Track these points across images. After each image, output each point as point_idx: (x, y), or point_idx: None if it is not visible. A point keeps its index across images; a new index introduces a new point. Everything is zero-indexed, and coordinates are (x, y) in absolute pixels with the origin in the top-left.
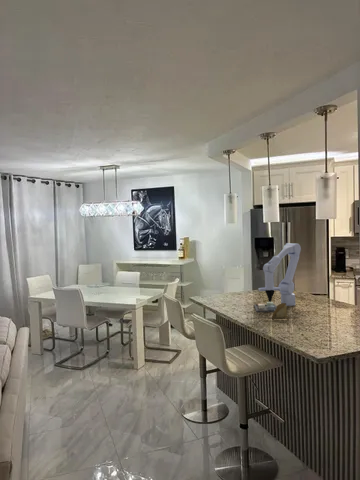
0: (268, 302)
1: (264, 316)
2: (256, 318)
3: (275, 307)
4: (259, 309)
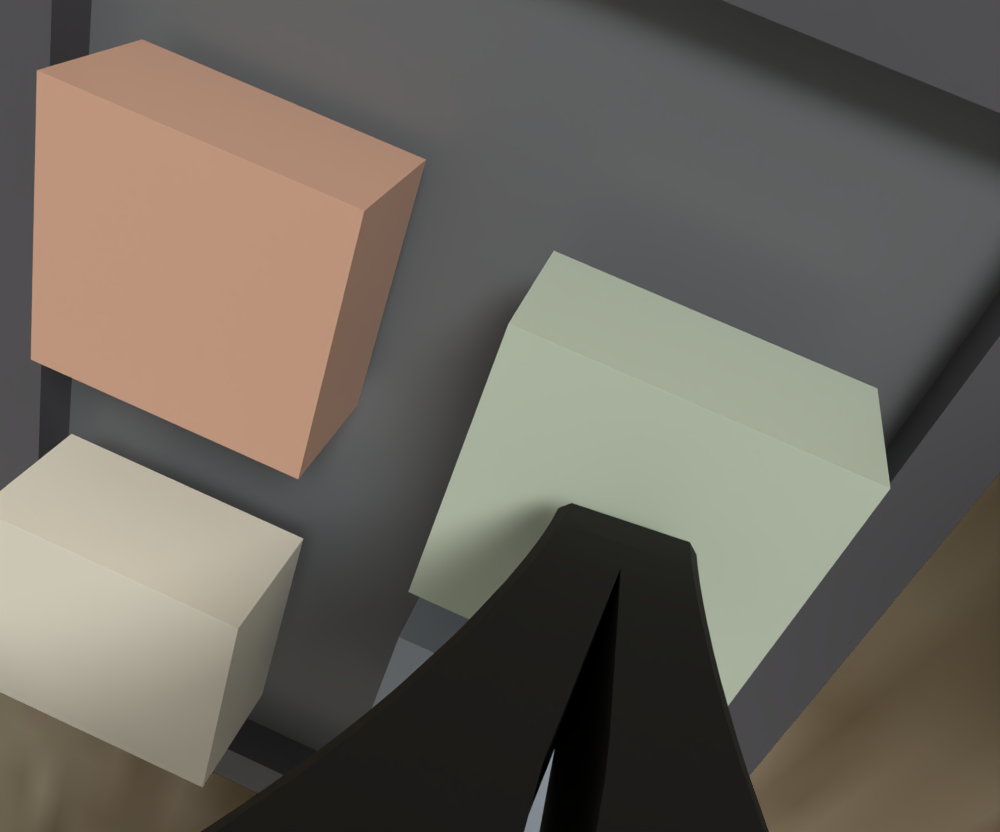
0: (556, 474)
1: (198, 822)
2: (19, 828)
3: (769, 660)
4: (150, 440)
